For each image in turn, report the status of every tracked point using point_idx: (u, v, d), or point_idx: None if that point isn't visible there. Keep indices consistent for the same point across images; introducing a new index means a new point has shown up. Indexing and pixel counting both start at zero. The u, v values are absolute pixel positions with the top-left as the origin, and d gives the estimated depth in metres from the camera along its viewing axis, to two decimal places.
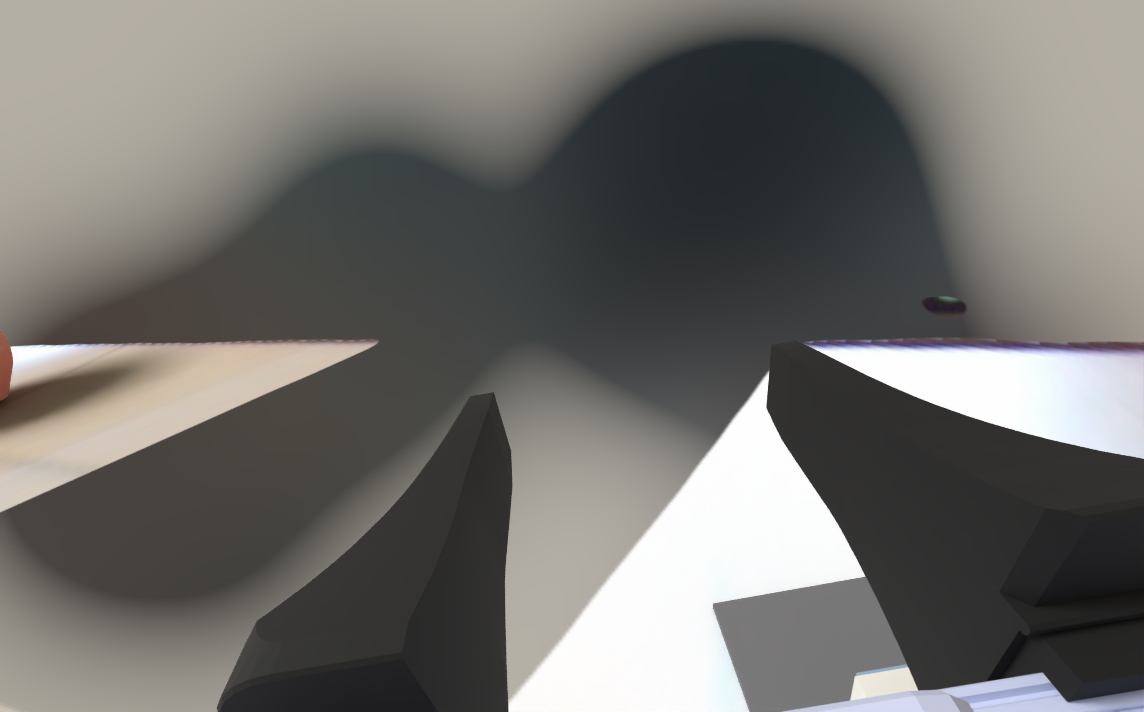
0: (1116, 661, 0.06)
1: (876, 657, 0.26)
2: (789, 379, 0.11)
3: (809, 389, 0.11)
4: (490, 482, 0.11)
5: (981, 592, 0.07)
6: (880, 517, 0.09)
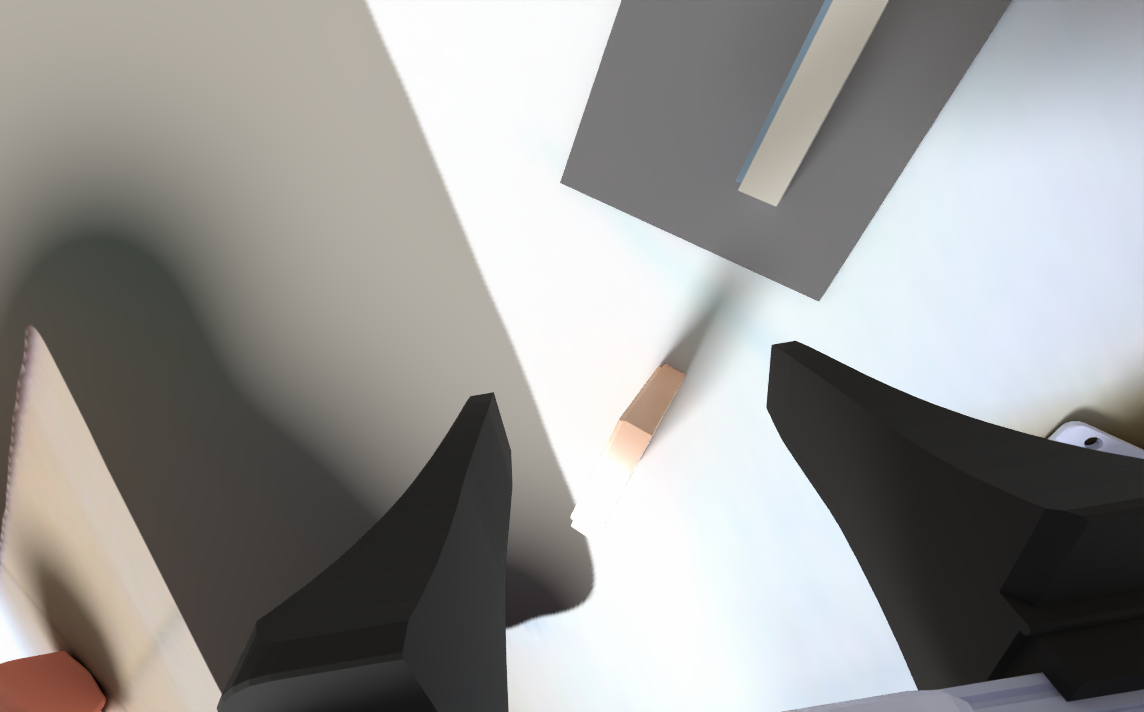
0: (1116, 661, 0.06)
1: (713, 48, 0.20)
2: (789, 379, 0.11)
3: (809, 389, 0.11)
4: (490, 482, 0.11)
5: (981, 592, 0.07)
6: (880, 517, 0.09)
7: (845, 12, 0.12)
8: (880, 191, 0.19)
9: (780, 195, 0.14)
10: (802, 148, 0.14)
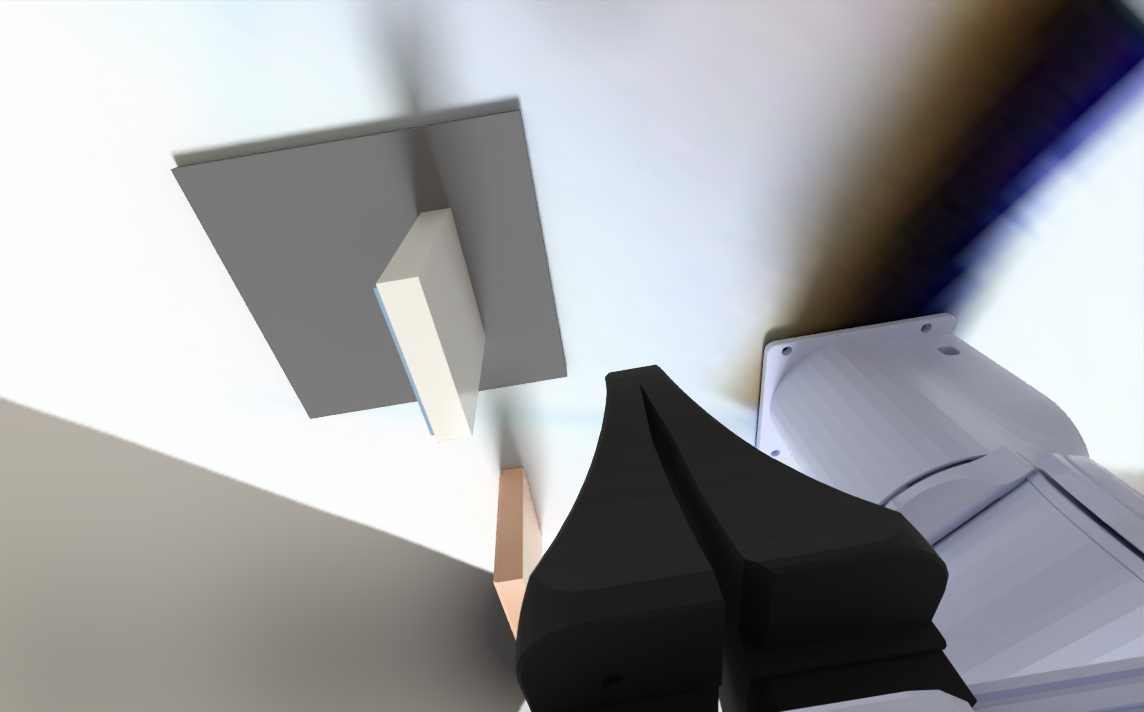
0: None
1: (340, 270, 0.21)
2: None
3: (651, 416, 0.11)
4: None
5: (733, 633, 0.07)
6: None
7: (405, 320, 0.14)
8: (546, 292, 0.22)
9: (468, 430, 0.17)
10: (456, 400, 0.16)
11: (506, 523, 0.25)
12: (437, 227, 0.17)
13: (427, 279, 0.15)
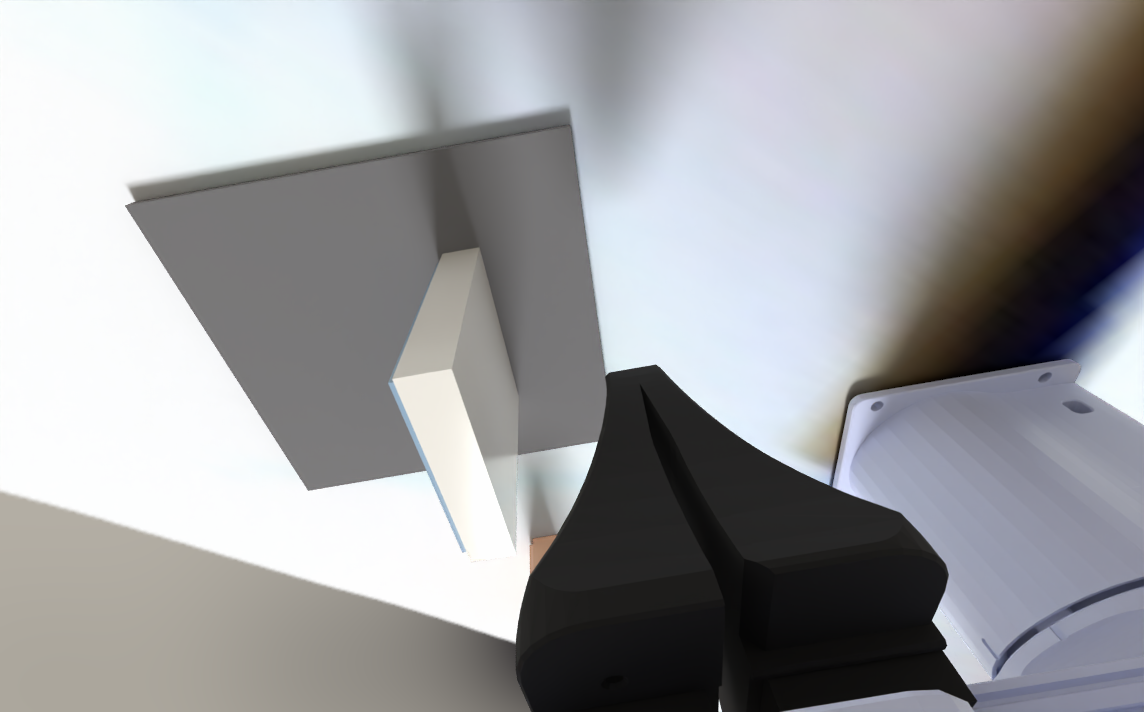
0: None
1: (343, 323, 0.17)
2: None
3: (651, 416, 0.11)
4: None
5: (733, 633, 0.07)
6: None
7: (432, 423, 0.10)
8: (593, 344, 0.18)
9: (511, 547, 0.13)
10: (497, 515, 0.12)
11: None
12: (467, 279, 0.13)
13: (462, 363, 0.11)
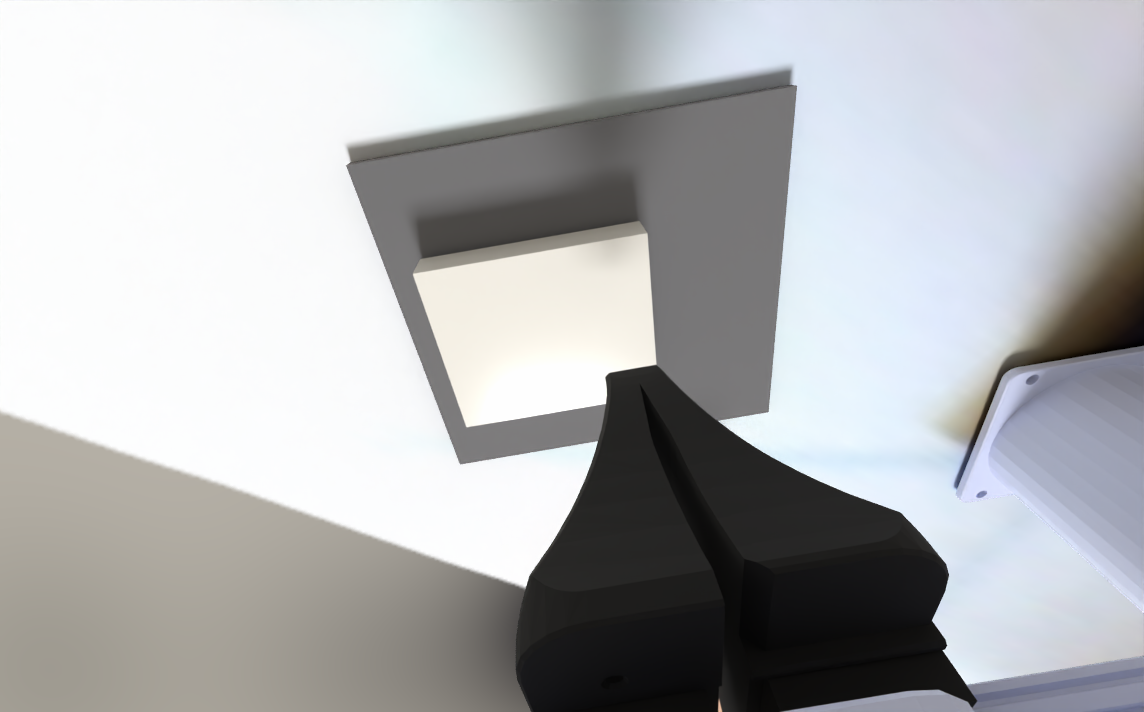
0: None
1: None
2: None
3: (651, 416, 0.11)
4: None
5: (733, 633, 0.07)
6: None
7: None
8: (769, 314, 0.18)
9: (464, 419, 0.17)
10: (454, 389, 0.17)
11: None
12: (562, 245, 0.14)
13: (444, 282, 0.15)
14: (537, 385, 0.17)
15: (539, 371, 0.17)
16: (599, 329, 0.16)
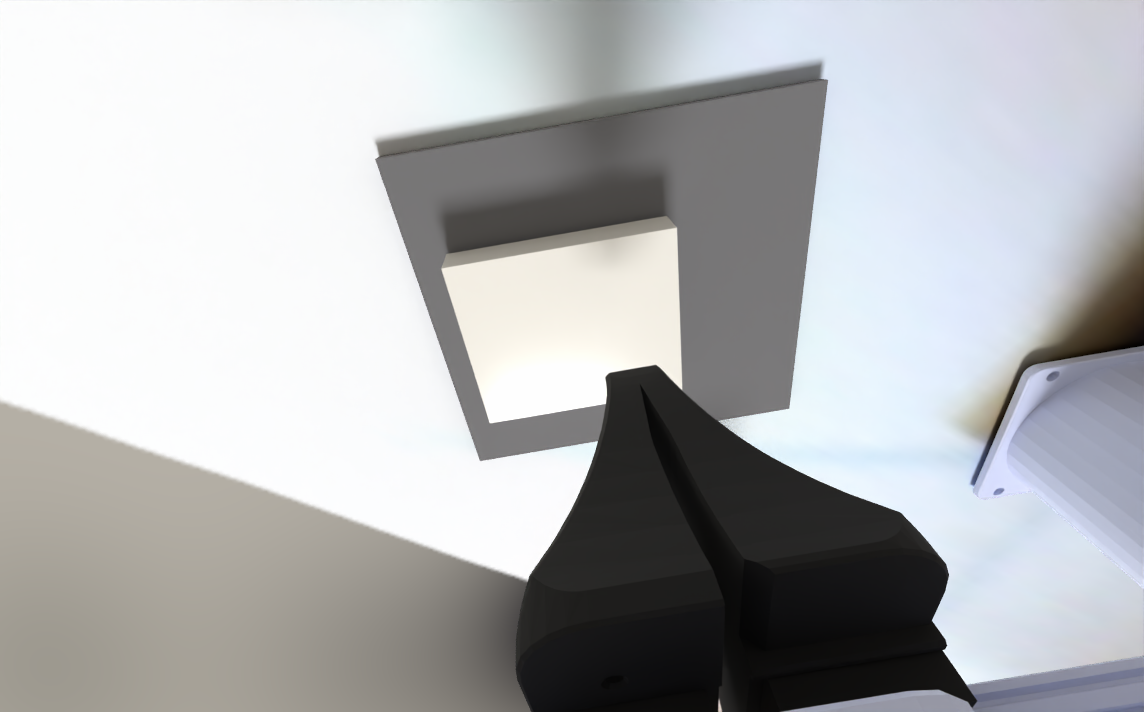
0: None
1: None
2: None
3: (651, 416, 0.11)
4: None
5: (733, 633, 0.07)
6: None
7: None
8: (793, 309, 0.18)
9: (488, 415, 0.17)
10: (479, 385, 0.17)
11: None
12: (591, 240, 0.14)
13: (473, 277, 0.15)
14: (562, 381, 0.17)
15: (564, 367, 0.17)
16: (625, 324, 0.16)
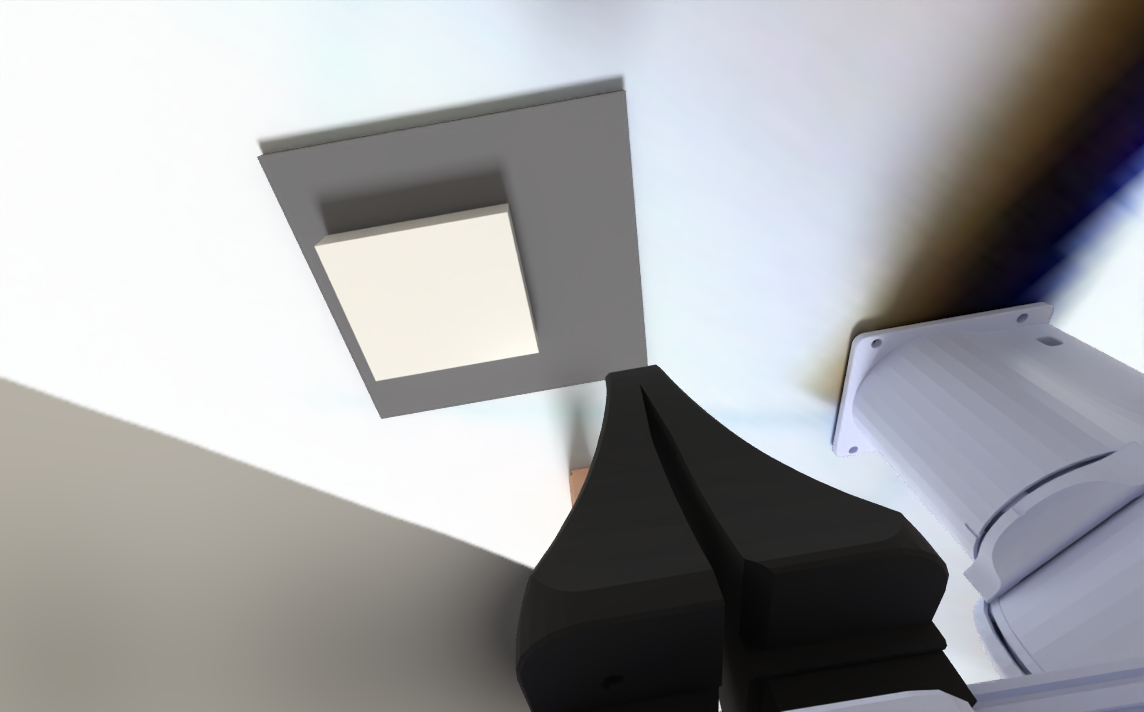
0: None
1: None
2: None
3: (651, 416, 0.11)
4: None
5: (733, 633, 0.07)
6: None
7: None
8: (634, 284, 0.21)
9: (373, 374, 0.21)
10: (362, 347, 0.20)
11: None
12: (438, 223, 0.18)
13: (342, 254, 0.18)
14: (432, 343, 0.20)
15: (432, 331, 0.20)
16: (479, 294, 0.19)
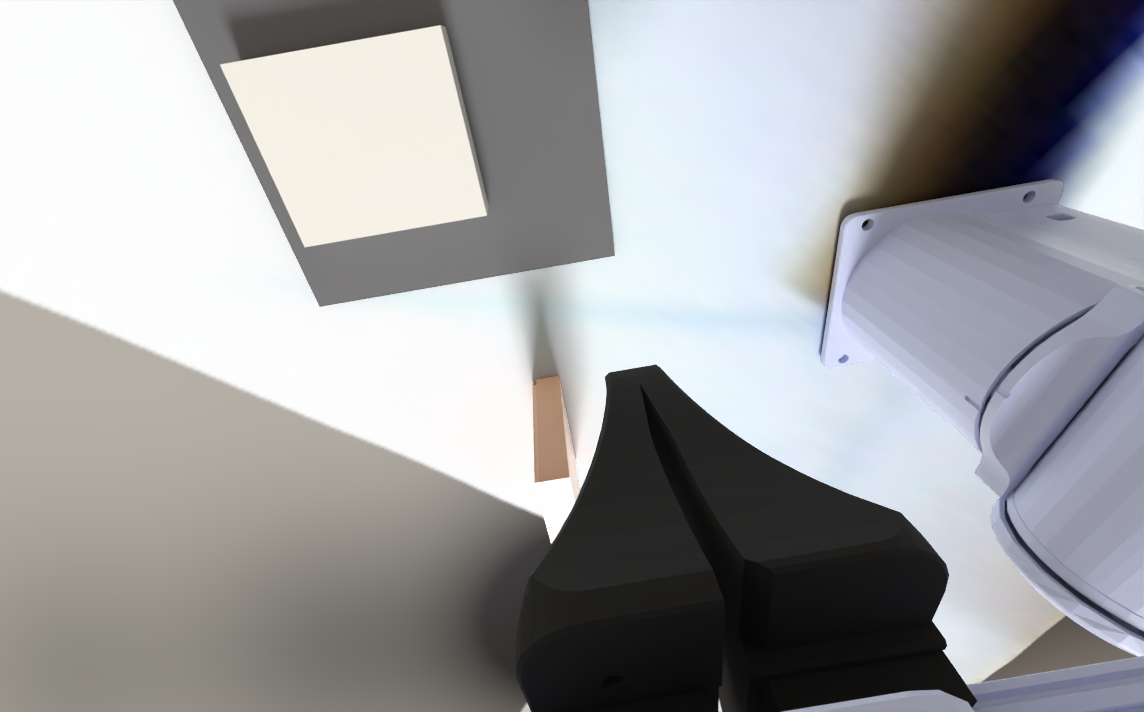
0: None
1: None
2: None
3: (651, 416, 0.11)
4: None
5: (733, 633, 0.07)
6: None
7: None
8: (595, 141, 0.19)
9: (301, 238, 0.18)
10: (286, 203, 0.18)
11: (545, 427, 0.22)
12: (362, 39, 0.15)
13: (253, 75, 0.15)
14: (365, 200, 0.18)
15: (364, 183, 0.17)
16: (414, 136, 0.17)
